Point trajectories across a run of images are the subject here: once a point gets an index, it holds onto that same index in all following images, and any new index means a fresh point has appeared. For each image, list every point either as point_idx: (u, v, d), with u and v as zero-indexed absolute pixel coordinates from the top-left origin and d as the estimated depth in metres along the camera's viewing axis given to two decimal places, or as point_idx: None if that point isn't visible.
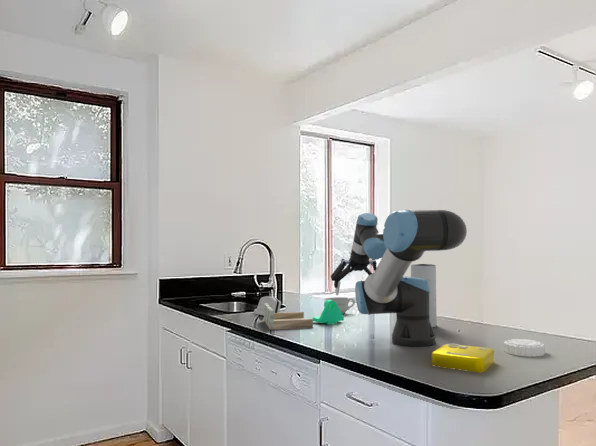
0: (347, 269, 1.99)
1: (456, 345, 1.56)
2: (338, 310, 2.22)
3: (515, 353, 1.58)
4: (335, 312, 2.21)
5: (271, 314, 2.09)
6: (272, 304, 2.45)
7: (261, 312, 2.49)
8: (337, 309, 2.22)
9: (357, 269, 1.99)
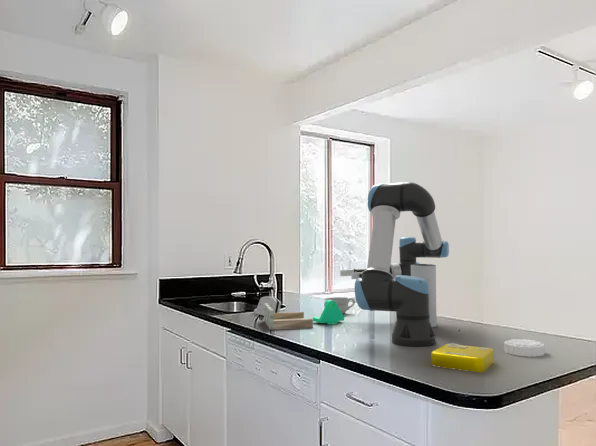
0: None
1: (456, 345, 1.56)
2: (338, 310, 2.22)
3: (515, 353, 1.58)
4: (335, 313, 2.21)
5: (271, 314, 2.09)
6: (272, 304, 2.45)
7: (261, 312, 2.49)
8: (337, 309, 2.22)
9: None
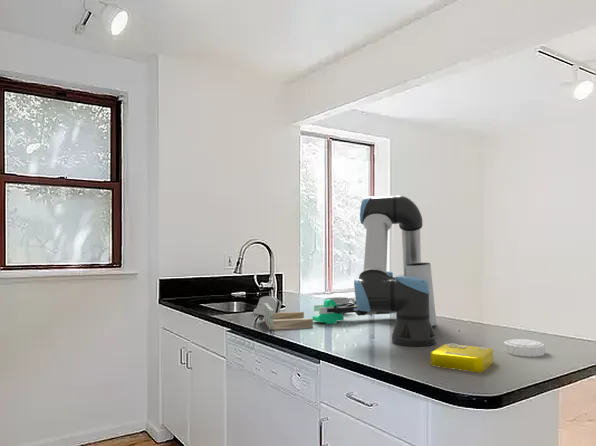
0: None
1: (455, 345, 1.56)
2: None
3: (515, 353, 1.58)
4: None
5: (271, 314, 2.09)
6: (273, 304, 2.46)
7: (261, 312, 2.49)
8: None
9: (347, 305, 2.27)
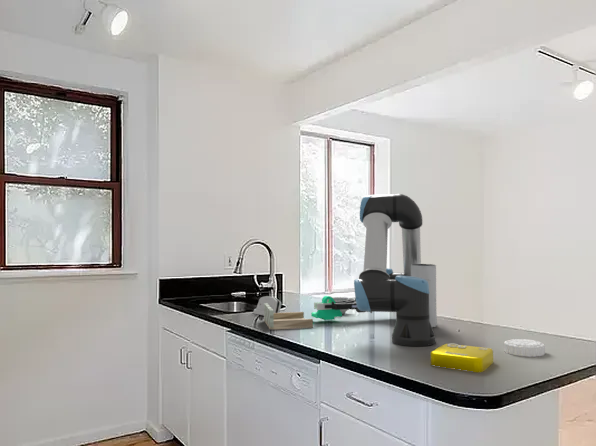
0: None
1: (455, 345, 1.56)
2: None
3: (515, 353, 1.58)
4: None
5: (271, 314, 2.09)
6: (273, 304, 2.46)
7: (261, 312, 2.49)
8: None
9: None
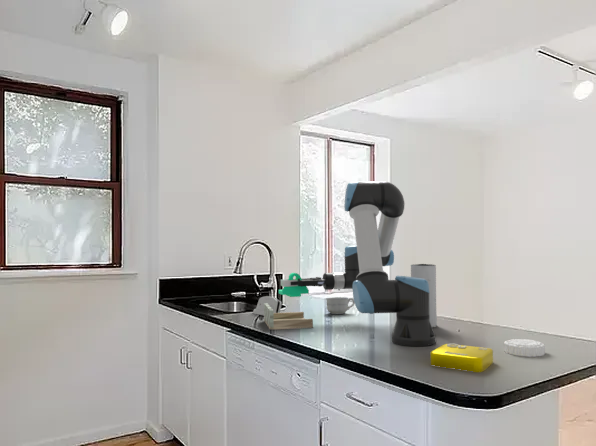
0: None
1: (455, 345, 1.56)
2: None
3: (515, 353, 1.58)
4: None
5: (271, 314, 2.09)
6: (273, 304, 2.46)
7: (261, 312, 2.49)
8: None
9: None
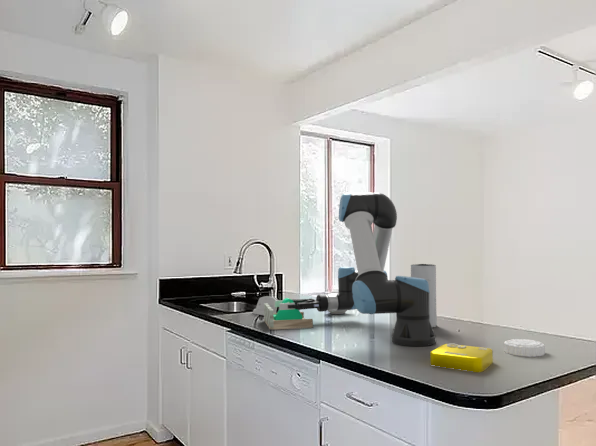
0: None
1: (455, 345, 1.56)
2: (296, 309, 2.20)
3: (515, 353, 1.58)
4: (292, 311, 2.20)
5: (271, 314, 2.09)
6: (273, 304, 2.46)
7: (261, 312, 2.49)
8: None
9: (307, 301, 2.24)
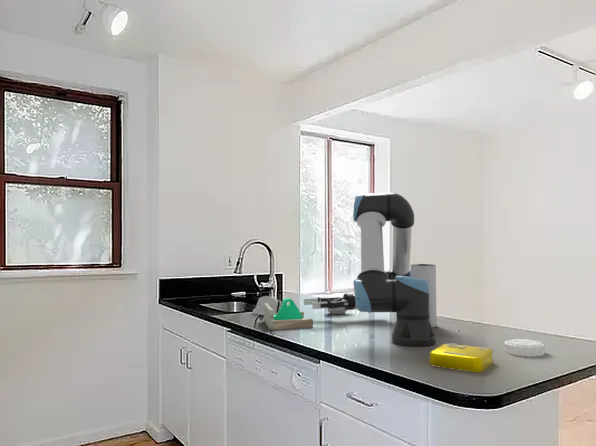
0: None
1: (455, 345, 1.56)
2: (296, 309, 2.20)
3: (515, 353, 1.58)
4: (293, 311, 2.19)
5: (271, 314, 2.09)
6: (273, 304, 2.46)
7: (261, 312, 2.49)
8: (295, 308, 2.20)
9: (335, 299, 2.27)
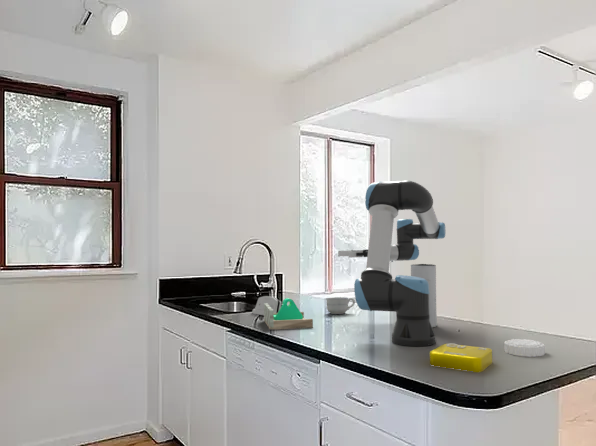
0: None
1: (455, 345, 1.56)
2: (296, 309, 2.20)
3: (515, 353, 1.58)
4: (293, 311, 2.19)
5: (271, 314, 2.09)
6: (273, 304, 2.46)
7: (261, 312, 2.49)
8: (295, 308, 2.20)
9: None
